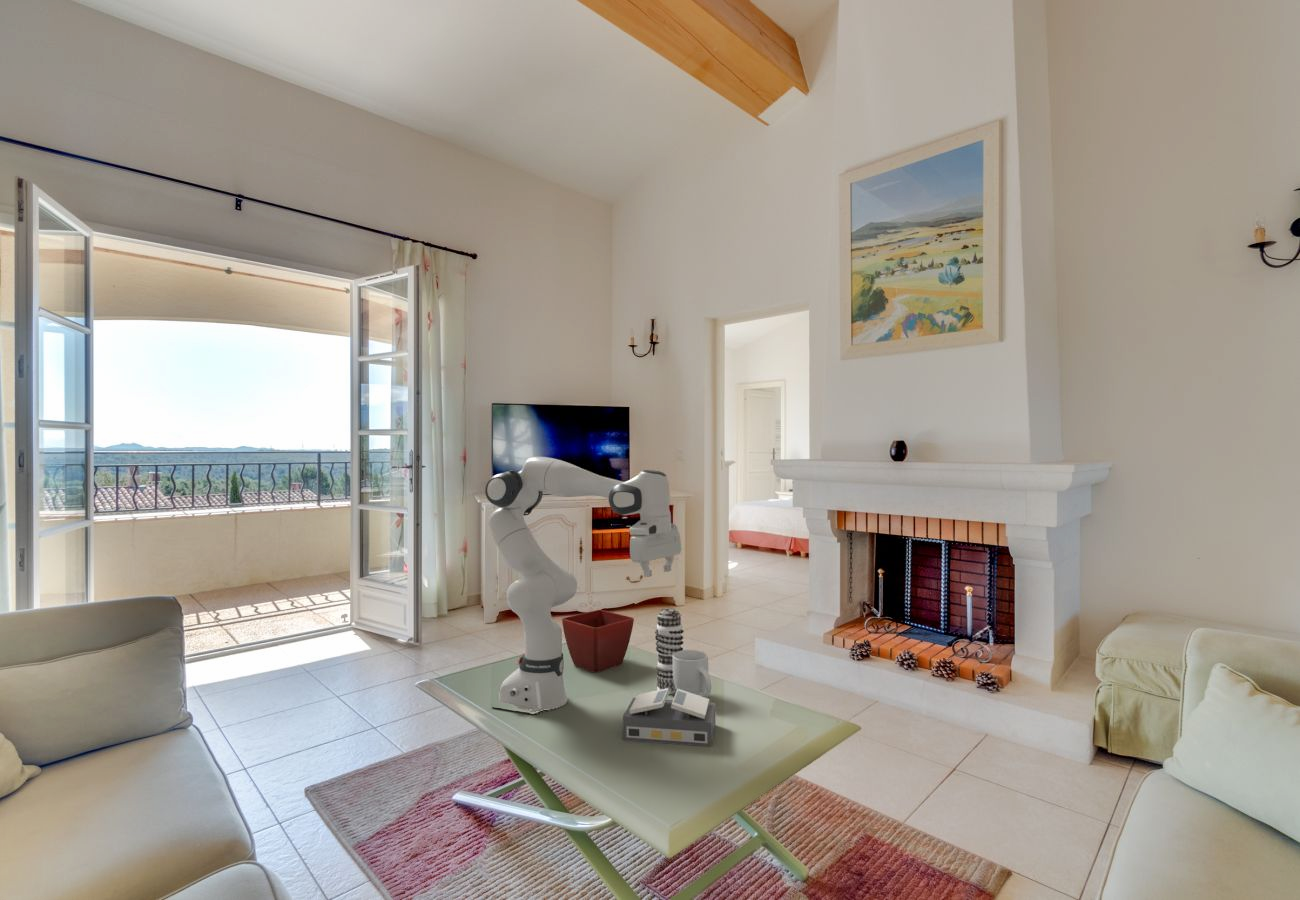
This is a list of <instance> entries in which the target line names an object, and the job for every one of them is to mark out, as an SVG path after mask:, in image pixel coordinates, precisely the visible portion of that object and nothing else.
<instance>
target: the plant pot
mask: <svg viewBox="0 0 1300 900" xmlns="http://www.w3.org/2000/svg"><path fill="white" fill-rule="evenodd" d="M634 620H635V618H634V617H631V616H629V615H624V614H620V613H616V612H612V611H608V610H603V609H597V610H593V611H588V612H584V613H579V614H576V615H575V614H574V615H571V616H567V617H566V616H565V617H562V618H561V623H562V624H561V625H562V629H563V635H564V638H565V642H566V646H567V649H568V652H569V655H570V658H571V660H572V663H573V665H574V666H576V667H578V668H582V669H583V670H587V671H590V672H593V673H600V672H604V671H606V670H609V669H612V668H615V667H618V666H621V665H622V664H623V661H624V659H625V657H626V653H627V650H628V647H629V644H630V640H631V635H632V632H633V629H634V628H633V626H634V622H635V621H634Z"/></svg>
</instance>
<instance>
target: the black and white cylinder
mask: <svg viewBox="0 0 1300 900" xmlns="http://www.w3.org/2000/svg"><path fill="white" fill-rule="evenodd" d="M681 616H682V613H680V611H679V610H677V609H676V608H662V609H661V610H659V612H658V613H657V614H656V617H657V624H656V629H655V632H654V634H655V636H654V637H655V640H656V641H655V645H656V647H655V651H656V653H657V666H656V671H657V672H656V676H657V677H656V686H657V688H656V691H657V690H662V689H666V688H669V694H668V695H675V694H676V689H675V685H674V680H673V668H672V667H673V665H672V662H673V659H672V656H673V654H674V653H675V652H678V651H682V650H684V648H683V647H682V645H683V644H684V641H683V639H684V636H683V635H682V634H684V632H685V630H683V626H682V621H681V618H682V617H681Z"/></svg>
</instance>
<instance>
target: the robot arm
mask: <svg viewBox="0 0 1300 900" xmlns="http://www.w3.org/2000/svg"><path fill="white" fill-rule="evenodd" d="M484 493H485V497H486V499H487V500H488V501H489V503H490V504H492V505H493V506H496V507H497V509H495V510H494V511H493V512H492V513H491V514H490V515H489V517H488V525H489V528H490V532H491V535H492V537H493V539H494V542H495V544H496V546H497V548H498V550H499V552H500V554H501V556H502V557H503V559H504V561H505V562H506V565H507V566H508V568H509V569H510V570H512V571H514V572H516V573H518V574H520V575H522V576H523V577H521V578H519V579H517V580H515V581H513V582H512V583H510V585H509V586H508V588H507V592H506V596H505V597H506V602H507V605H508V607H509V608H510V610H511V611H512V612H513V613H514V614H516V615H517V616H518V618H519V619H520V621H521V625H522V628H523V632H524V633H523V635H524V653H522V656H520V657H519V659H518V660H517V664H516V665H517V666H519V667H517V669H515V670H514V671H513V672H512V673H510V674H509V675H508V676H506V678H505V679H504V680H503V682H502V683H501V685H500V689H499V693H498V694H499V701H501V702H505V703H509V704H513V705H515V706H516V707H517V706H518V707H517V708H519V709H522V710H526V711H530V712H536V711H541V710H544V709H553V710H555V709H554V708H556V709H559V708H561V707H564V706H565V705H566V704H567V702H568V699H569V698H568V696H567V693H566V687H565V684H564V683H565V682H564V676H563V675H564V674H563V673H564V667H565V666H564V665H565V664H564V663H565V662H564V661H565V660H564V653H563V647H562V645H563V644H562V643H563V642H562V640H563V639H562V637H563V635H562V634H563V633H562V632H563V631H562V628H561V626H560V624H558V623H557V622H555V621H554V620H553V618H552V614H551V611H552V610H551V608H555V607H557V606H560V605H563V604H565V603H566V602H569V601H570V600H571V599H573V598H574V596H575V595H576V593H577V589H578V583H577V579H576V577H575V576H574V574H573V573H572V572H571V571H570V570H567V569H565V568H563V567H561V566H560V565H558V564H557V563H556V562H555V561H554V560H552V559H551V558H550V557H549V556H548V555H547V554H546V552H544V550H543V549H542V548H541V546H540V545H539V543H538V541H537V539H535V536H534V535H533V533H532V531H531V530H530V528H529V526H528V525H527V523H526V521H525V518H524V516H528V515H530V514H531V513H532V511H533V510H534V509H535V508H536V507H537V506H538V505H539V504H540V503H541V501H542V499H543V497H544V496H543V494H544V493H546V494H548V495H552V496H557V497H563V498H564V497H565V498H574V497H575V498H576V497H584V496H598V497H603V498H606V499H608V504H609V506H610V507H609V508H610V509H611V510H612V511H613V512H614V513H616V514H618V515H621V516H628V515H635V514H639V517H640V518H639V519H640V520H638V521H637V522H636V523H635V524H632V526H630V527H629V529H628V530H629V532H628V533H629V535H631V536H630V540H629V555H630V557H629V558H630V559H631V561H632V563H637V564H638V563H639V565H640V567H641V569H642V571H643V577H644V578H649V577H652V575H653V574H652V573H653V572H652V570H651V569H650V567H649V566H650V561H656V560H659V559H663V558H664V559H665V564H664V565H663V572H666V573H670V572H671V571H672V564H673V561H674V556H675V555H680V554H681V553H682V552H681V551H682V543H681V542H682V541H681V536H680V532H679V530H678V526H677V525H676V524H675V523H672V515H671V511H670V503H671V492H670V484H669V479H668V475H666V473H664V472H663V471H659V470H653V469H652V470H651V469H644V470H641V471H640V472H639V474H637V475H635V476H634V477H633V478H631V479H628V480H625V481H622V480H618V479H616V478H611V477H607V476H602V475H599V474H597V473H594V472H592V471H590V470H587V469H584V468H581V467H580V466H577V465H575V464H572V463H570V462H567V461H564V460H562V459H557V458H553V457H547V456H532V457H531V456H530V457H529V458H528V459H527V460H526V461H525V462H524V463H523V465H522V468H521V470H519V471H516V470H514V469H510V470H509V471H505V472H500V473H497V474H495V475H492V476H491V477H490V478H489V479H488V480H487V482H486V484H485V488H484ZM560 706H561V707H560ZM558 707H559V708H558ZM527 709H528V710H527ZM529 709H532V710H529Z"/></svg>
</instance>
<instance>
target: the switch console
mask: <svg viewBox="0 0 1300 900" xmlns="http://www.w3.org/2000/svg"><path fill="white" fill-rule="evenodd" d="M635 699H636V697H633V698H632V699H631V701H630V703H629V705H628V707H627V708H626V710H625V712H624V713H623V715H622V740H623V741H633V742H646V743H657V744H658V743H659V744H672V745H683V746H684V745H685V746H696V747H709V748H710V747H712V745H713V739H714V736H715V730H716V702H710V701H709V702H708V707H707V711H706V715H705V719H703V718H700V717H697V716H694V715H691V714H688V713H685V712H682V711H679V710H676V709H673V708H671V705H672V702H673V699H666V701H665V703H664V706H663V707H662V708H657V709H652V710H647V711H643V712H638V713H633V714H630V711H629V710H630V708H631V706H632V704H633V703H634V701H635Z"/></svg>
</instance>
